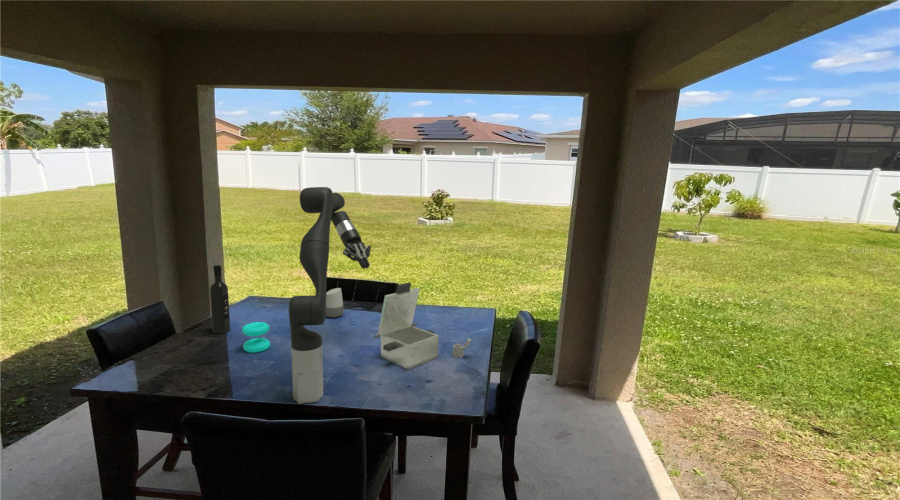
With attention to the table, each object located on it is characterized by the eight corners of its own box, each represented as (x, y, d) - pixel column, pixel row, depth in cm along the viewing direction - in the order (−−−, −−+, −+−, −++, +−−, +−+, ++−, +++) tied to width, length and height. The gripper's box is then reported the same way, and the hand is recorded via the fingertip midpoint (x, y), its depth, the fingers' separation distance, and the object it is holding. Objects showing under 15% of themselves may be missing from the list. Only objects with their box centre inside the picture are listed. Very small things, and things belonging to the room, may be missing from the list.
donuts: (268, 328, 172) (240, 330, 168) (270, 352, 174) (242, 355, 170) (269, 320, 181) (243, 322, 178) (270, 342, 183) (244, 345, 179)
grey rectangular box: (371, 359, 169) (371, 335, 168) (416, 342, 187) (416, 321, 185) (399, 372, 158) (400, 347, 157) (445, 354, 176) (445, 331, 174)
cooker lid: (379, 335, 170) (377, 333, 171) (411, 325, 182) (409, 323, 183) (388, 288, 163) (386, 287, 164) (421, 281, 176) (419, 280, 176)
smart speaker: (324, 313, 222) (323, 287, 220) (342, 312, 225) (342, 286, 222) (324, 319, 213) (324, 292, 211) (344, 318, 216) (343, 291, 213)
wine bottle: (231, 329, 196) (227, 264, 191) (223, 334, 191) (219, 267, 186) (219, 329, 197) (215, 264, 192) (211, 333, 191) (206, 266, 186)
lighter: (452, 356, 174) (452, 337, 172) (453, 355, 175) (453, 336, 174) (469, 358, 172) (470, 339, 171) (470, 357, 174) (471, 338, 172)
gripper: (337, 229, 174) (356, 264, 168) (365, 226, 184) (383, 259, 178) (330, 240, 179) (348, 275, 173) (358, 237, 189) (375, 270, 182)
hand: (366, 267), depth 175 cm, fingers closed
